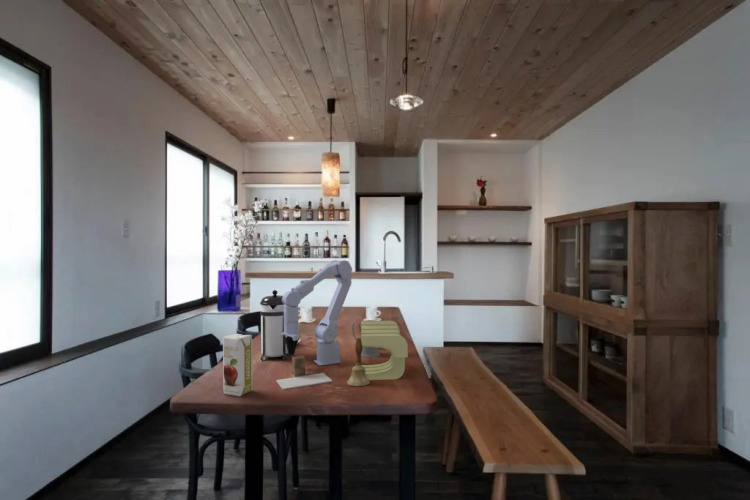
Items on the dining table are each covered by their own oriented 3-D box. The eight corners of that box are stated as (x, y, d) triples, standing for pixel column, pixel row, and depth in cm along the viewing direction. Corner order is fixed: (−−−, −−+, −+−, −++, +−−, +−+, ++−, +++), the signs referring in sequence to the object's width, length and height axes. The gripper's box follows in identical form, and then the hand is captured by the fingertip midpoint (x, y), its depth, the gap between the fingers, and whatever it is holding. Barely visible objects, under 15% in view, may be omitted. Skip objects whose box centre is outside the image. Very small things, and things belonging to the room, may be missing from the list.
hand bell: (359, 377, 147) (358, 334, 147) (374, 382, 141) (374, 338, 141) (342, 382, 141) (341, 338, 141) (358, 388, 136) (357, 342, 136)
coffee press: (300, 356, 178) (300, 289, 178) (270, 363, 166) (270, 292, 166) (278, 349, 189) (278, 287, 189) (248, 356, 177) (248, 290, 177)
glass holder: (373, 358, 174) (372, 324, 174) (347, 353, 181) (346, 321, 181) (383, 353, 181) (383, 321, 181) (357, 349, 189) (357, 318, 189)
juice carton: (235, 387, 138) (235, 332, 138) (255, 390, 134) (255, 334, 134) (219, 394, 131) (219, 337, 131) (240, 398, 127) (240, 339, 127)
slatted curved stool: (408, 387, 137) (407, 335, 137) (361, 387, 136) (361, 336, 136) (399, 362, 167) (398, 320, 167) (361, 363, 166) (361, 320, 166)
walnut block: (302, 373, 153) (302, 355, 153) (305, 376, 149) (305, 357, 149) (292, 375, 151) (291, 356, 151) (294, 378, 147) (294, 359, 147)
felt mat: (323, 374, 152) (323, 372, 152) (332, 381, 143) (332, 380, 143) (276, 381, 144) (276, 380, 144) (282, 389, 135) (282, 388, 135)
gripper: (277, 319, 164) (277, 352, 164) (285, 325, 151) (285, 360, 151) (293, 318, 167) (294, 350, 167) (303, 323, 154) (303, 358, 154)
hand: (291, 354), depth 159 cm, fingers closed
